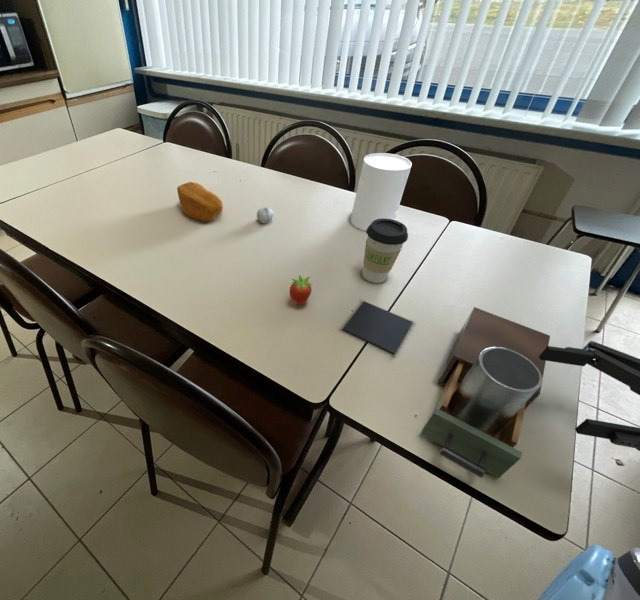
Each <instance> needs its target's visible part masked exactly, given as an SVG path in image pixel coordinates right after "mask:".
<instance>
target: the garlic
mask: <svg viewBox="0 0 640 600" xmlns="http://www.w3.org/2000/svg"><path fill="white" fill-rule="evenodd" d="M273 218H274V211H273V210H272V209H271V208H269V207H264V206H263V207H260V208H259V209H258V210H257V212H256V219H257V220H258V221H259V222H260V223H262V224H267V223H270V222H271V221H272V220H273Z"/></svg>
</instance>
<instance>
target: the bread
mask: <svg viewBox="0 0 640 600" xmlns="http://www.w3.org/2000/svg"><path fill="white" fill-rule="evenodd" d="M176 190H177V196H178V200H179V204H180V208H181V210H182V211H183V212H184V214H186V215H187V216H189V217H190V218H192V219H195V220H197V221H200V222H213V220H215V219H216V218H217V217H218V216H219V215H220V214H221V213H222V212H223V210H224V207H223V201H222V200H221V198H220V197H219V196H218V195H216V194H215V193H213V192H212V191H210V190H208V189H206V188H205V187H204V186H203V185H202V184H200V183H198V182H192V181H189V182H186V183H183V184H180V185H178V186H177V187H176Z"/></svg>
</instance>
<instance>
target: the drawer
mask: <svg viewBox="0 0 640 600" xmlns="http://www.w3.org/2000/svg"><path fill="white" fill-rule="evenodd" d="M470 368H471V366H469V365H466V364H464V363H462V362H460V361H458V363H457V364H456V366H455V368H454V369H453V371H452V372H451V374H450V376H449V377H448V380H447V382H446V385H445V387H444V386H443V390H442V392H441V395H440V397H439V400H438V402H437V405H436V406H435V408H434V410H433V411H432V412H431V414H430V416H429V417H428V419H427V420H426V422H425V424H424V425H423V427H422V428H421V431H420V435H422V436H423V437H424V438H427V439H429V440H431V441H432V442H434V443H436V444H438V445H439V446H441V448H440V451H439V455H441V456H442V457H443V458H446V459H448V460H449V461H451V462H453V463H455V464H456V465H458V466H460V467H462V468H463V469H466V470H467V471H468V472H470V473H472V474H473V475H475V476H477V477H479V478H482V477H483V478H484V475H485V473H486V472H488V473H489V474H492V476H495V477H497V478H498V479H499V478H501V477H502V476H503V475H504V474H505V473H506V472H507V471H509V470H510V469H511V468H512V467H514V465H516V463H518V462H519V461H520V460H521V459H522V456H523V455H522V454H523V452H522V451H520V450H518V449H516V448H514V447H516V445H518V442H519V438H520V433H521V429H522V423H523V419H524V415H525V410H526V409H525V404H526V403H525V404H524V405H523V406H522V407H521V408H520V410H519V411H518V412H517V413H516V414H515V415H514V416H513V417H512V418H511V419H510V420H509V421H508V423H507V424H506V425H505V426H504V427H503V428H502V429H501V430H500V431H499V432H498V433H497V434H496V435H495V436H494V437H491V436H489V435H487V434H486V433H484V432H482V431H480V430H478V429H476V428H474V427H472V426H470V425H468V424H466V423H464V422H462V421H460V420H458V419H457V418H455V417H453V416H451V415H449V414H447V413H446V408H447V406H448V404H449V401H450V399H451V397H452V395H453V394H454V392H455V391H456V389H457V388H458V386H459V385H460V383H461V382H462V380H463V379H464V377H465V376H466V374H467V373H468V371H469V370H470ZM524 409H525V410H524Z"/></svg>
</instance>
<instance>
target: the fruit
mask: <svg viewBox="0 0 640 600" xmlns="http://www.w3.org/2000/svg"><path fill="white" fill-rule="evenodd" d="M310 277H311V276H310V275H309V276H307V277H305V278H303V276H301V274H299V276H298V279H294V278H292V279H291V280H292V281H293V282H292V283H291V284H290V287H289V296H290V298H291V299H292V301H293V302H294V303H296V304H297V305H304V304H305V303H306V302H307V300H308V299H309V298H310V296H311V294H312V285H313V284H314V283H313V282H312V283H310V282H309V279H310Z"/></svg>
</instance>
